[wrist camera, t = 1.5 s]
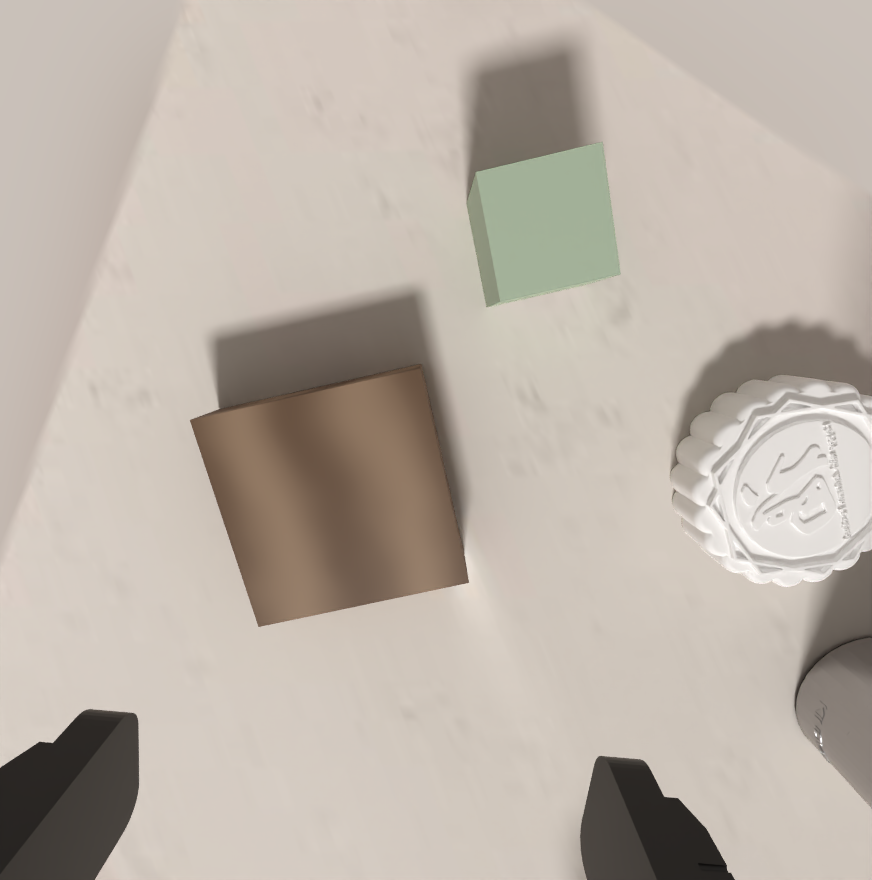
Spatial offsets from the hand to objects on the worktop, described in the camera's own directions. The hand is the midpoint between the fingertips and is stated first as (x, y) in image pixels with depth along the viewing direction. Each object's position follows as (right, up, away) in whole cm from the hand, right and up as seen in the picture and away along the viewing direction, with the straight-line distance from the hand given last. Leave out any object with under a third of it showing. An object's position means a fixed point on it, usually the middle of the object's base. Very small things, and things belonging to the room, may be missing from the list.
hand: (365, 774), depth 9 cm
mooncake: (+21, +4, +22) cm, 31 cm away
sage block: (+6, +16, +19) cm, 26 cm away
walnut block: (-4, +3, +22) cm, 22 cm away
